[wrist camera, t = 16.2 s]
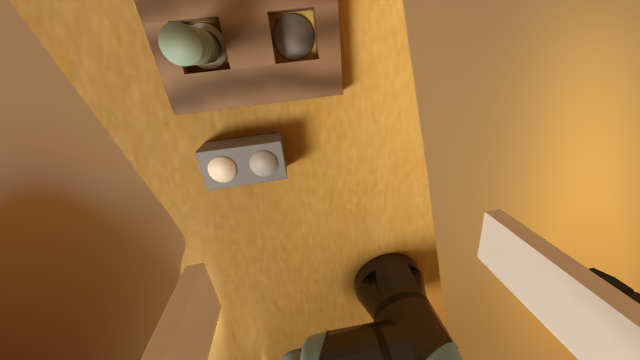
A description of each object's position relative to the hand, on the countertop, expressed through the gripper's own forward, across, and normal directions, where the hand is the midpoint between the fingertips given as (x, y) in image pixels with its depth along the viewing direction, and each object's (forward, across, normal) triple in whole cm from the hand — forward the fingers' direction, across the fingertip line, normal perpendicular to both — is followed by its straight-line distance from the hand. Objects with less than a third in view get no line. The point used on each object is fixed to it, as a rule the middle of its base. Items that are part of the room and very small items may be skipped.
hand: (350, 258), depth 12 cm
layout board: (+32, +6, -12) cm, 34 cm away
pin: (+32, +12, -12) cm, 36 cm away
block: (+32, +10, +4) cm, 34 cm away
